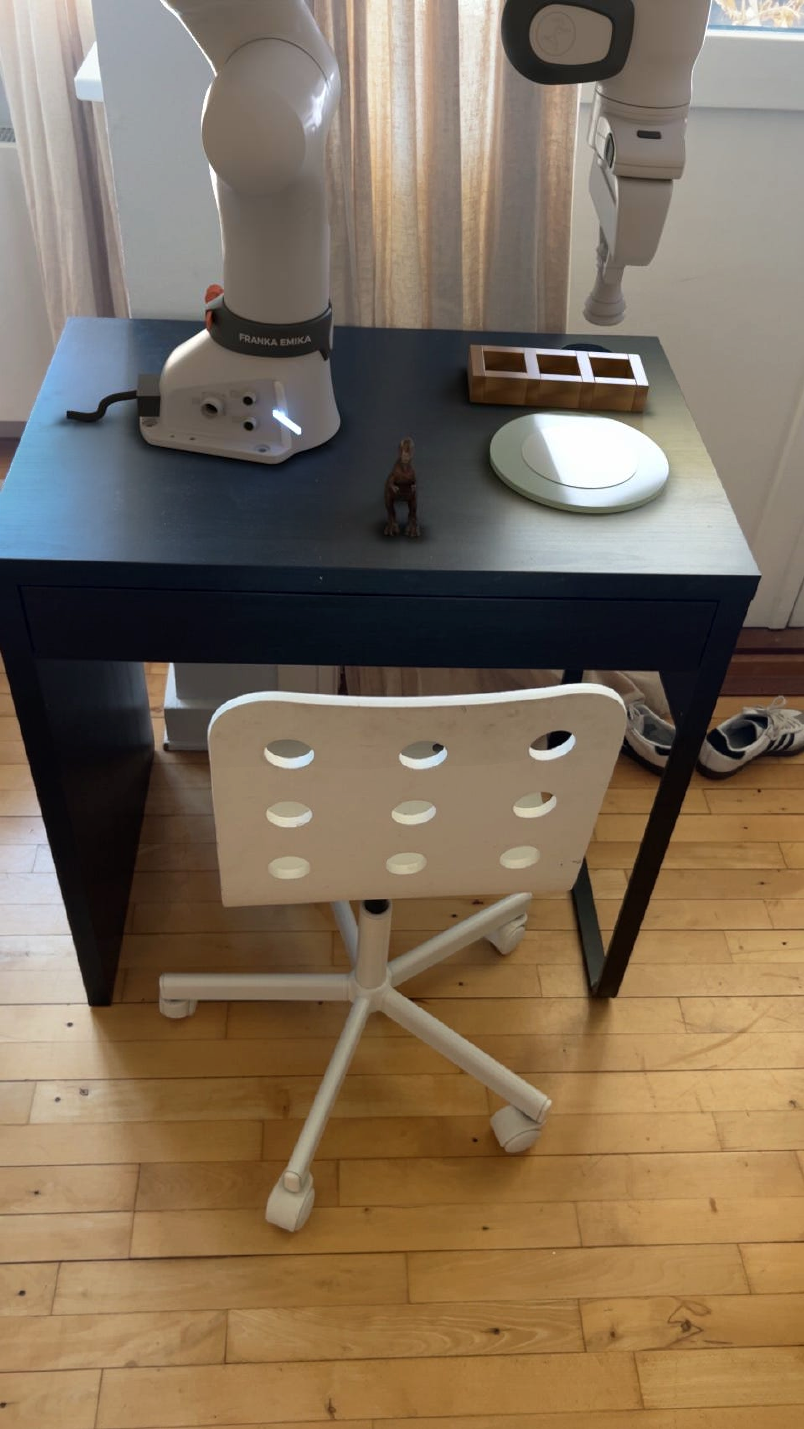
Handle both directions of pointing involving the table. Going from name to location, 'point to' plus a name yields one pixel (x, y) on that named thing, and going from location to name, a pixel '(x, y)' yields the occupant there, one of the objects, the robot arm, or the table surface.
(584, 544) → the table surface
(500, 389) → the rack
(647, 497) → the plate
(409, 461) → the dinosaur model
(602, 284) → the rook chess piece
